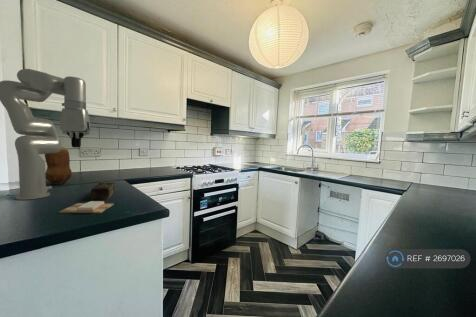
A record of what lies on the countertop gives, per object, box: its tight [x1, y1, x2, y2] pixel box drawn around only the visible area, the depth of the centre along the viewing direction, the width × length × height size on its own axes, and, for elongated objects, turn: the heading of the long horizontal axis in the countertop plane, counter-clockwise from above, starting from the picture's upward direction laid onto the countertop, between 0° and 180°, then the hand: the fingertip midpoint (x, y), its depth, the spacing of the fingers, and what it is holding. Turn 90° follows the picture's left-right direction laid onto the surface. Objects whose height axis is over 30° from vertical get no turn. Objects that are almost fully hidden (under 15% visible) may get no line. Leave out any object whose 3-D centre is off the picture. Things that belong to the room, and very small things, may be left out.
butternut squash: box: [44, 146, 73, 185], centre depth 133 cm, size 14×13×25 cm
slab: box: [77, 200, 105, 212], centre depth 88 cm, size 9×2×6 cm
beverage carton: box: [90, 181, 115, 201], centre depth 111 cm, size 8×19×7 cm, turn 23°
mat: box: [58, 202, 115, 214], centre depth 90 cm, size 12×16×1 cm
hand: (76, 147), depth 91 cm, fingers closed
